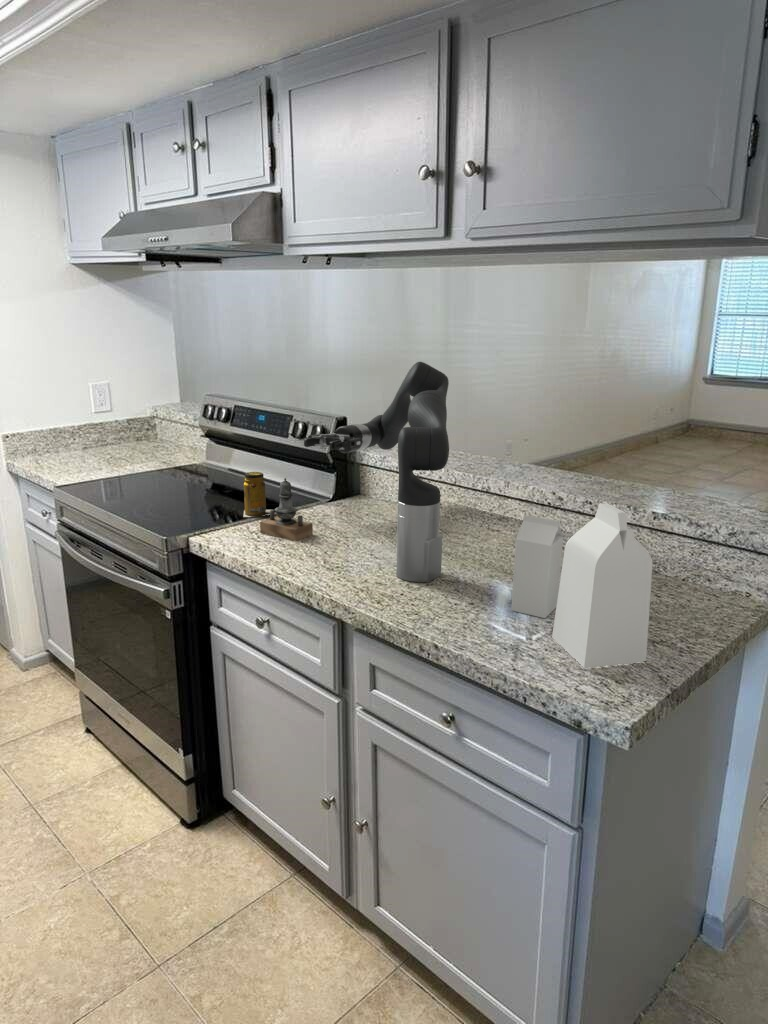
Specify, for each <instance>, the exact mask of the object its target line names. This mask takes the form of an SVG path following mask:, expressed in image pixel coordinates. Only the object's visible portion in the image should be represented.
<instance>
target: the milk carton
mask: <svg viewBox="0 0 768 1024" xmlns="http://www.w3.org/2000/svg"><path fill="white" fill-rule="evenodd" d="M563 545H564V534H563V532H562V530H561V527H560V520H557V519H551V518H544V517H539V516H534V515H529V514H528V515H527V514H524V515H523V521H522V524H521V525H520V527H519V530H518V532H517V535H516V537H515V548H514V549H515V550H514V562H513V563H514V565H513V579H512V582H513V583H512V592H511V593H512V594H511V606H510V608H511V609H510V610H511V611H512V612H516V613H520V614H521V613H522V614H525V615H529V616H533V617H538V618H541V619H546V618H547V617H548V616H549V615H550V614H551V613H552V612H553V611H554V610H556V606H557V599H558V592H559V585H560V578H561V572H562V560H563V559H562V558H563V557H562V556H563V548H564V547H563Z"/></svg>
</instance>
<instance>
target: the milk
mask: <svg viewBox="0 0 768 1024" xmlns="http://www.w3.org/2000/svg"><path fill="white" fill-rule="evenodd" d="M635 537H636V534H635V533H634V532H633V531H632V530H631V528H629V527H628V521H627V516H626V512H625V511H623V510H621V509H619V508H617V507H615V506H613V505H611V504H609V503H607V502H605V503H599V504H598V506H597V510H596V513H595V516H594V517H593V518H592V519H590V521H589V522H587V523H586V524H585V525H584V526H582V527H581V528H580V529H579V530H578V531H577V532H575V533H574V534H573V535H572V536H571V537H570V538H569V539H568V541H567V542H566V544H565V546H564V552H563V557H562V558H563V559H562V564H561V571H560V582H559V592H558V599H557V606H556V608H555V615H554V621H553V629H552V634H551V639H552V638H553V639H554V640H555V641H556V642H557V643H558V644H559V645H561V646H562V647H563V648H564V649H565V651H567V652H568V653H569V654H570V655H571V656H572V657H573V658H575V659H576V661H578V662H579V663H580V664H581V665H582V666H583V667H584V668H588V667H597V666H606V665H618V664H628V663H636V662H643V661H646V662H647V654H648V653H647V651H648V637H649V636H648V635H649V621H650V609H651V606H650V605H651V590H652V578H653V559H652V556H651V555H650V552H649V551H648V550H647V549H646V548H645V547H644V546H643V545H642V544H641V543H640V542H639V540H637V539H636V538H635ZM553 639H552V640H553ZM554 640H553V641H554ZM555 641H554V642H555ZM556 642H555V643H556ZM557 643H556V644H557ZM558 644H557V645H558ZM559 645H558V646H559ZM565 651H564V652H565Z"/></svg>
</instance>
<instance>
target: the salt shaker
mask: <svg viewBox="0 0 768 1024" xmlns="http://www.w3.org/2000/svg"><path fill="white" fill-rule="evenodd" d="M278 496H279V506H278V507H276V508H274V512H275V514H276V516H278V517H279V518H280V519H279V520H278V521H276V523H277V524H279V525H292V524H295V523H296V521H295V520H296V519H295V518H294V517H296V514H297V511H298V508H297V507H295V506H294V505H293V501H292V498H293V496H294V495H293V494H292V484H291V482H290V481H288V480H287V478H286V477H284V479H283V480H282V481H281V482H280V484H279V494H278ZM294 519H295V520H294Z"/></svg>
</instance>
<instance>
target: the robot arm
mask: <svg viewBox="0 0 768 1024" xmlns="http://www.w3.org/2000/svg"><path fill="white" fill-rule="evenodd" d="M449 383H450V382H449V377H448V376H447V375H446V374H445V373H444V372H442V371H440V370H438V369H436V368H435V367H433V366H431V365H430V364H427V363H426V362H424V361H417V362H415V363H414V364H413V365H412V366H411V367H410V369H409V370H408V372H407V374H406V375H405V377H404V379H403V381H402V382H401V384H400V386H399V388H398V390H397V392H396V394H395V396H394V398H393V401H392V402H391V404H389V406H388V407H387V408H386V410H385V411H384V412H383V413H382V414H378V415H376V416H374V417H373V418H372V419H371V420H369V421H368V422H366V423H365V422H364V423H360V424H359V423H355V424H349V425H348V424H347V425H342V426H338V427H337V428H336V430H334V432H330V433H325V434H324V433H319V434H318V433H317V434H312V435H310V434H309V435H307V437H306V438H304V440H303V446H304V447H305V448H308V447H309V448H310V447H317V446H319V447H321V448H329V450H330V451H334V450H337V451H339V452H340V453H343V454H348V453H352V452H357V451H361V450H363V449H367V448H371V447H374V446H378V447H379V448H380V449H381V450H384V451H387V450H388V451H389V450H390V449H392V448H395V447H396V445H397V459H398V460H397V461H398V462H397V463H398V488H397V493H398V494H397V526H396V529H397V530H396V564H395V566H396V567H395V568H396V569H395V570H396V573H395V575H396V577H397V578H399V579H401V580H404V581H408V582H416V583H417V582H419V583H420V582H422V583H430V582H431V581H433V580H434V579H437V578H438V577H440V576H441V575H442V562H443V561H442V560H443V559H442V557H443V555H442V554H443V534H442V533H440V518H441V517H440V514H441V513H440V512H441V511H440V510H441V489H440V488H439V487H438V486H437V485H435V484H433V483H432V484H431V483H430V482H428V481H424V480H422V479H420V478H419V477H418V476H416V475H415V473H414V471H424V472H425V471H426V472H427V471H428V472H429V471H431V472H433V471H440V470H443V469H444V468H445V467H446V465H447V463H448V461H449V455H450V443H449V435H448V431H447V422H448V420H447V419H448V413H447V412H448V411H447V397H448V395H447V394H448V390H449ZM411 397H412V398H411ZM407 424H408V425H409V426H406V425H407ZM324 443H325V444H324Z"/></svg>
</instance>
